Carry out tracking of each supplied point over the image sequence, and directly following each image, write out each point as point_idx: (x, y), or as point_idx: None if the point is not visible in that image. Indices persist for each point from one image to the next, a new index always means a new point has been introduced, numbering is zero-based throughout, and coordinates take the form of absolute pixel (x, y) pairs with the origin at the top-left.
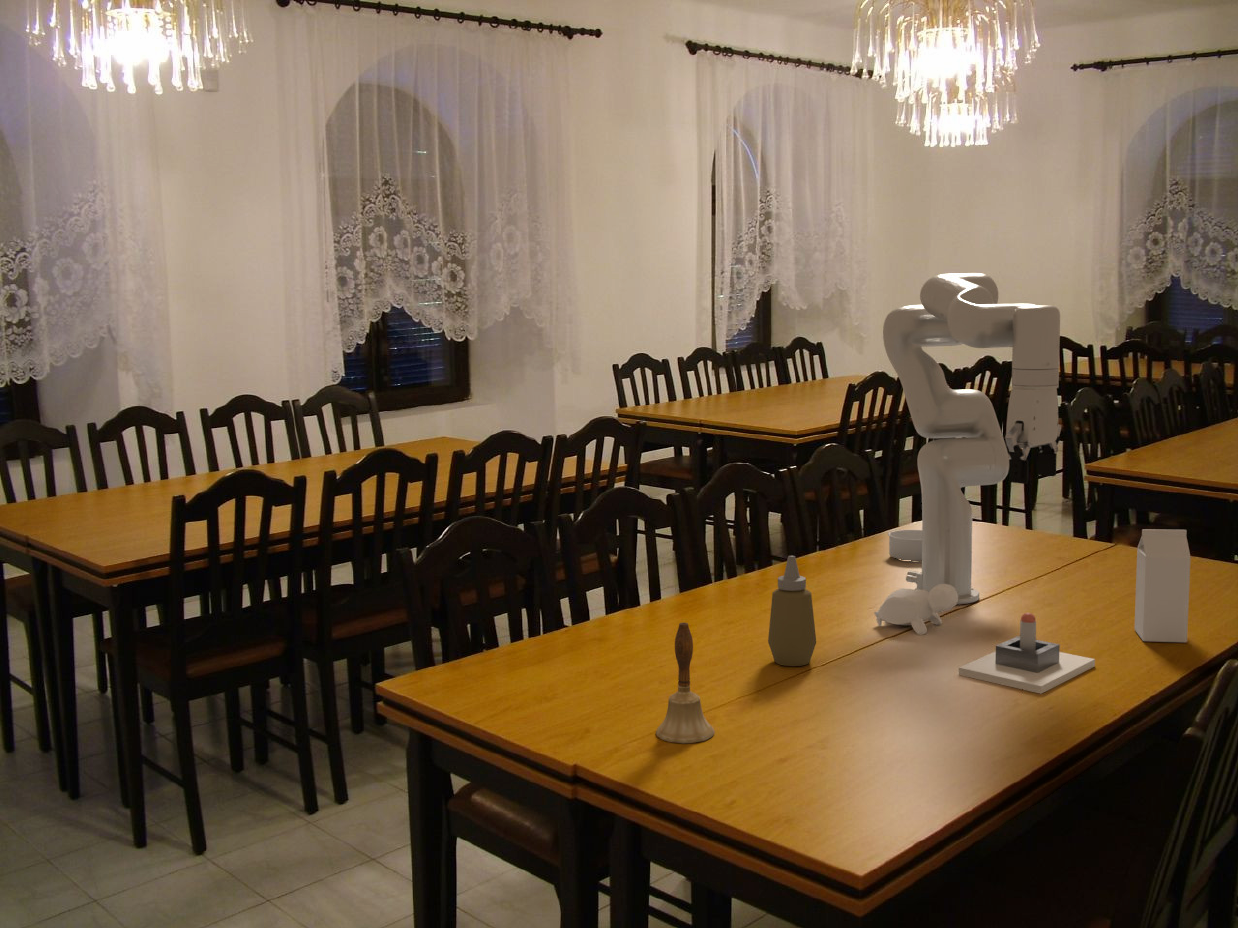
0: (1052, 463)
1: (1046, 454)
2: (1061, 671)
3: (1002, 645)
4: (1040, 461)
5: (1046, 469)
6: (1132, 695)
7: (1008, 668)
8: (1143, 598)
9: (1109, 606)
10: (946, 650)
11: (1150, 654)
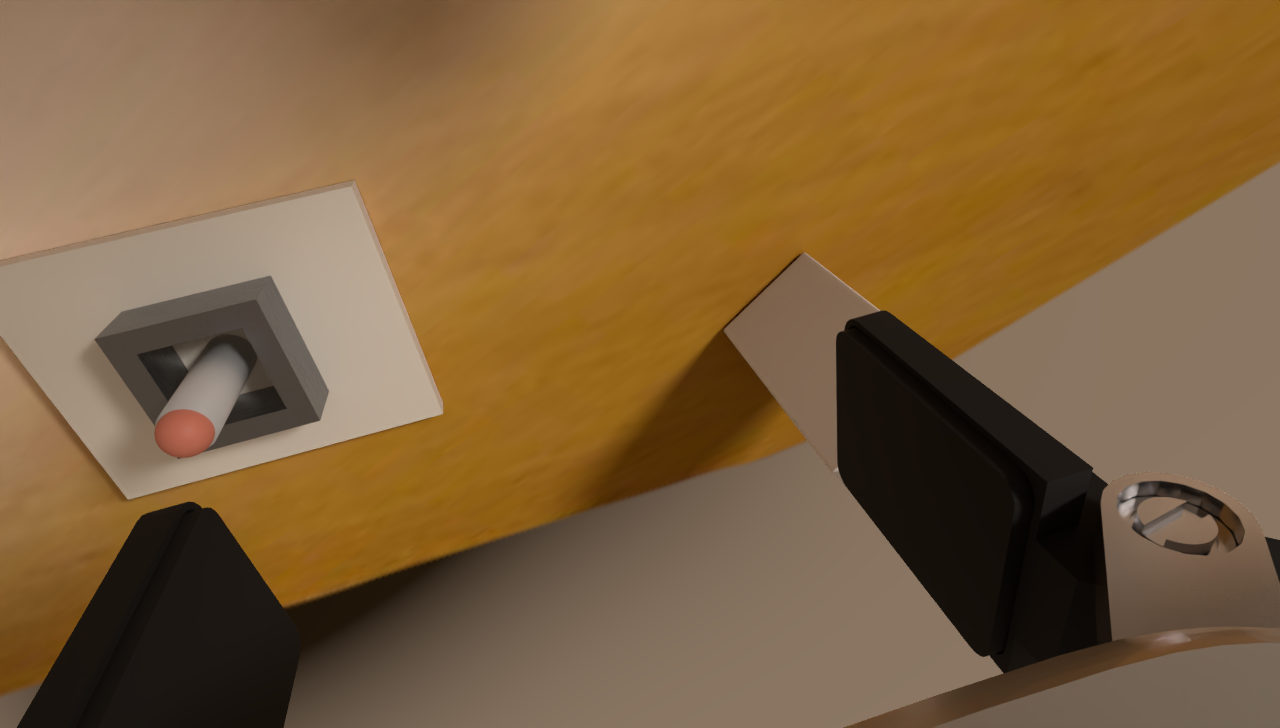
0: (911, 560)
1: (991, 587)
2: (275, 443)
3: (123, 347)
4: (931, 442)
5: (868, 454)
6: (349, 564)
7: None
8: (774, 381)
9: (1007, 26)
10: (94, 28)
11: (640, 401)
